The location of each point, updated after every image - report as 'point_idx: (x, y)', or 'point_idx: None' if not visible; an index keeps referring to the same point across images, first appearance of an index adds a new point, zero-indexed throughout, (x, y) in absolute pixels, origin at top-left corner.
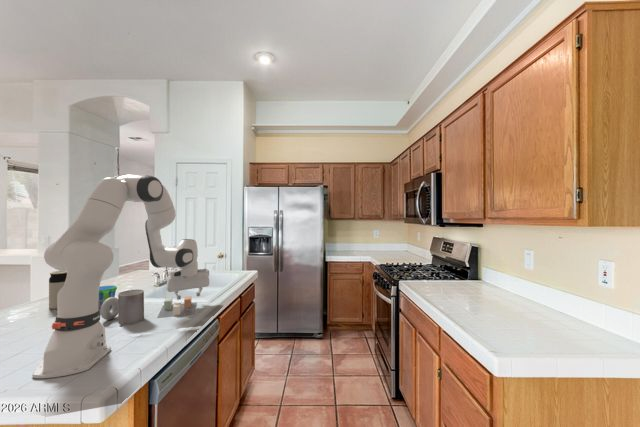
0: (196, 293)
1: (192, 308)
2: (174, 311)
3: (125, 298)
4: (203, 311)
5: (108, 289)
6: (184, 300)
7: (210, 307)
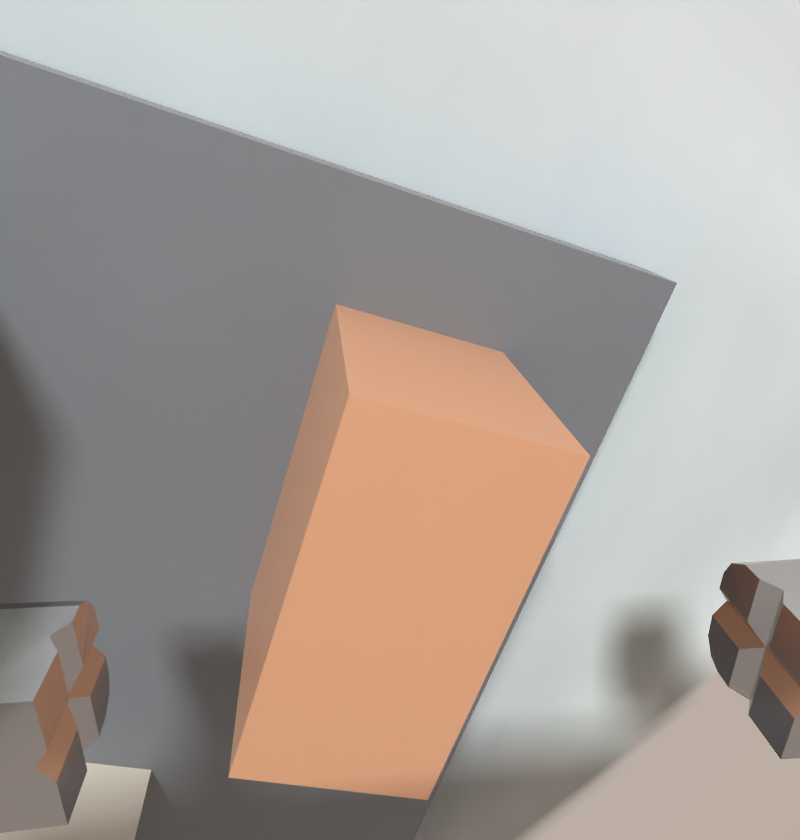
0: (790, 633)
1: None
2: None
3: None
4: (542, 774)
5: None
6: (235, 758)
7: None
